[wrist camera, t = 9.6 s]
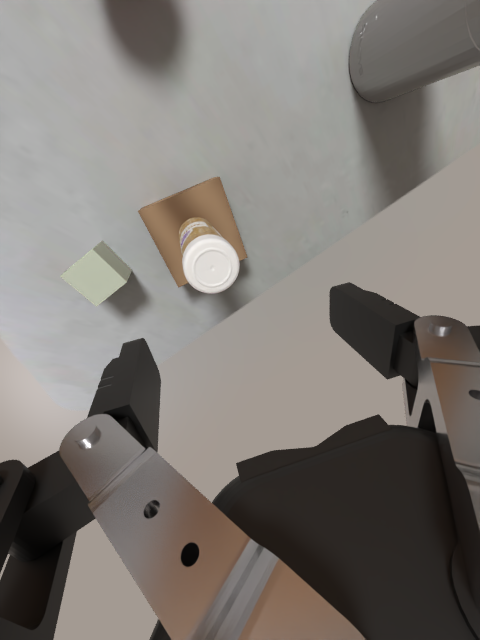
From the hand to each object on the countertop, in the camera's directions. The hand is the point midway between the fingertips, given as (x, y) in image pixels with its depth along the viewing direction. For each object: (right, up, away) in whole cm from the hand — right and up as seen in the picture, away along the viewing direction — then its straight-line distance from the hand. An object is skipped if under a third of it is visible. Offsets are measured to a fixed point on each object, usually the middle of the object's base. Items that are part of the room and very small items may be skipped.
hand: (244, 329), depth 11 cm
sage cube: (-18, +8, +24) cm, 31 cm away
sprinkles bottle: (-5, +11, +21) cm, 24 cm away
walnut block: (-6, +13, +24) cm, 28 cm away
